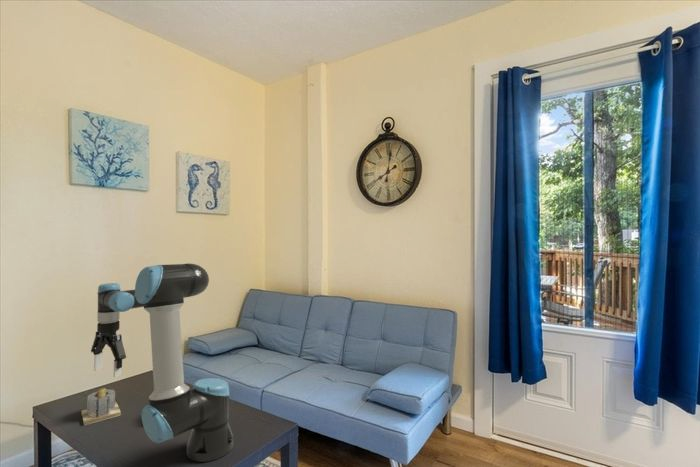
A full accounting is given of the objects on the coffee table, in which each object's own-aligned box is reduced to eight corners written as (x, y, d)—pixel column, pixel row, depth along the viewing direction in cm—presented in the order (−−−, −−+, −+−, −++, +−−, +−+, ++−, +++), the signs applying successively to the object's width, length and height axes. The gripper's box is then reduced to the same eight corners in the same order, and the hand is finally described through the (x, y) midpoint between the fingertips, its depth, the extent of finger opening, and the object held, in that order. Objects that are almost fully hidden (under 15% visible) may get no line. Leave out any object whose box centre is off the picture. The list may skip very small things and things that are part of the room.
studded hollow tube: (116, 412, 142) (116, 395, 142) (88, 419, 136) (88, 401, 136) (112, 404, 149) (113, 387, 149) (86, 410, 143) (86, 393, 143)
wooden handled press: (120, 415, 142) (121, 390, 142) (84, 425, 134) (84, 399, 134) (116, 404, 151) (116, 380, 151) (81, 413, 143) (81, 388, 143)
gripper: (136, 323, 142) (135, 375, 142) (101, 316, 153) (100, 364, 153) (117, 327, 135) (116, 382, 135) (81, 319, 146) (80, 370, 146)
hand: (107, 372), depth 144 cm, fingers open, 13 cm apart
